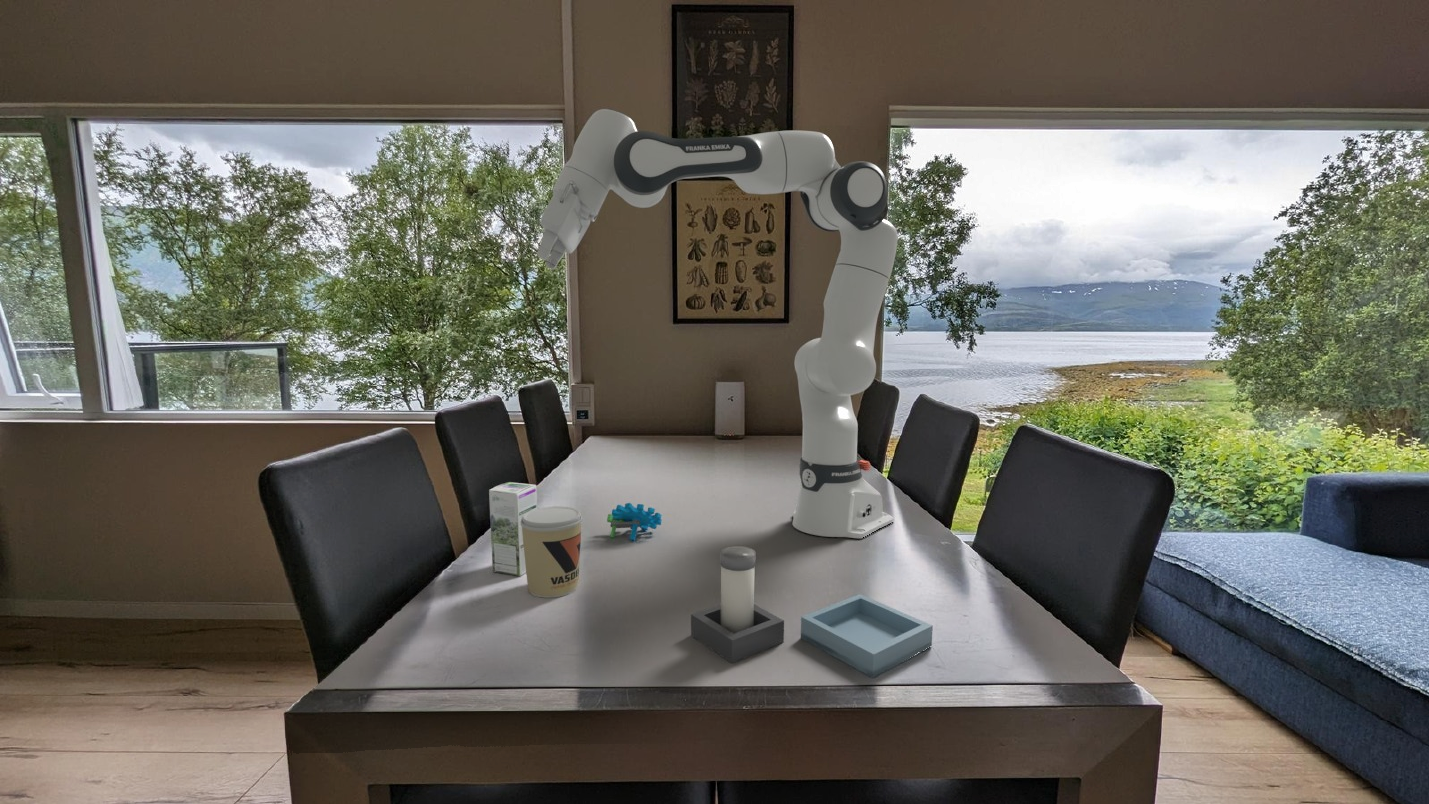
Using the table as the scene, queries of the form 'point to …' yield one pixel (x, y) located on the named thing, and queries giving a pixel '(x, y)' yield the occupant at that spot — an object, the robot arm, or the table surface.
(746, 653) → the socket
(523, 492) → the syrup box
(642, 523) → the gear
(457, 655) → the table surface
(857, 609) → the tray
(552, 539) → the cream lidded tub
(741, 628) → the cylinder
